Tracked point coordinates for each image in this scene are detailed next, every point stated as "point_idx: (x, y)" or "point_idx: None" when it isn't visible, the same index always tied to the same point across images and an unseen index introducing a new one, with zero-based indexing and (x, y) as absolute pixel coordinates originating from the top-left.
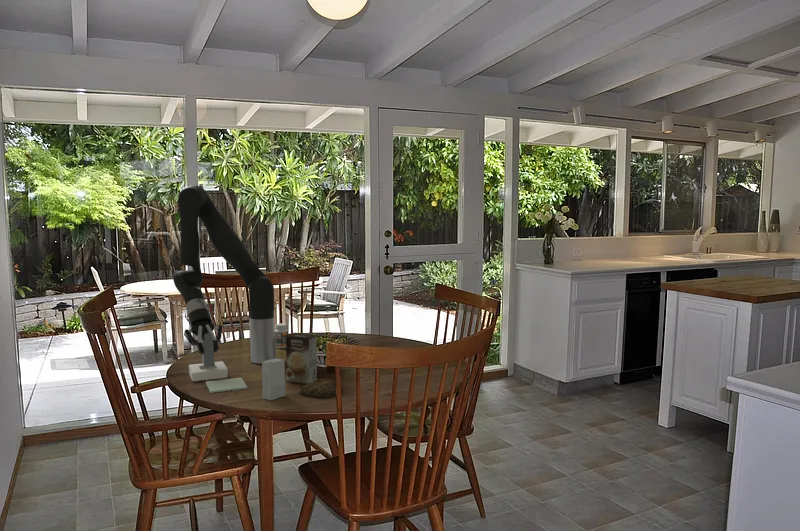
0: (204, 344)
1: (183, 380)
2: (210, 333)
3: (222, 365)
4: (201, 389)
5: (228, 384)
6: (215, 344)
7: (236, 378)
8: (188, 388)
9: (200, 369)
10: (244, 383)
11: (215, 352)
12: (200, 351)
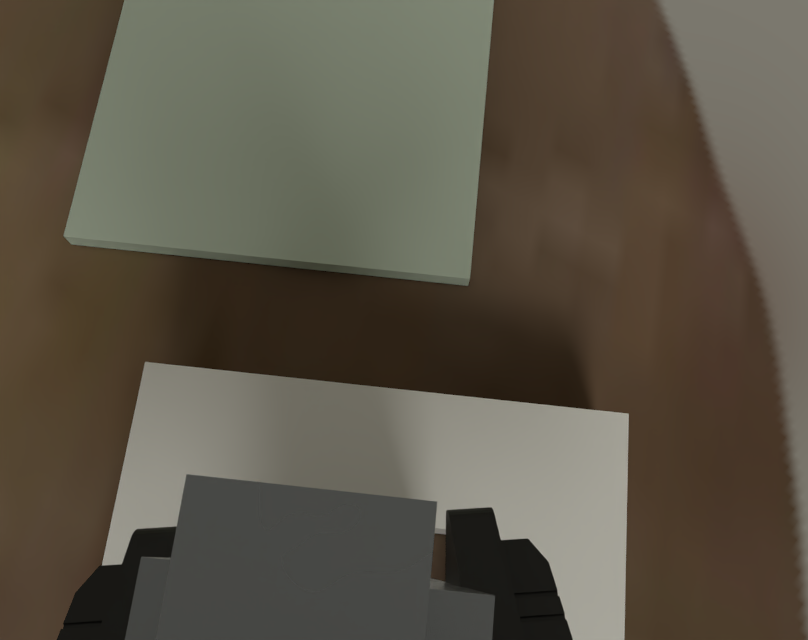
0: (430, 584)
1: (692, 545)
2: (180, 539)
3: None
4: (548, 102)
5: (279, 60)
6: (118, 629)
7: (125, 226)
8: (666, 195)
9: None
10: (127, 16)
11: None
12: (523, 551)
